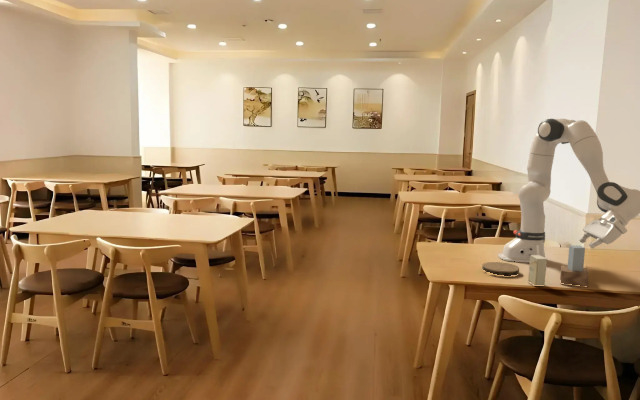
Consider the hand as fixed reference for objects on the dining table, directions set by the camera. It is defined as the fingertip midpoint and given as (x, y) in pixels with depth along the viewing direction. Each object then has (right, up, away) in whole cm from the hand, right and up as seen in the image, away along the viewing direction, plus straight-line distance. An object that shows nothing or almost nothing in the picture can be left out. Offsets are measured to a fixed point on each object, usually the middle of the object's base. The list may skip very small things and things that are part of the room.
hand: (585, 244), depth 211 cm
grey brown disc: (-30, -15, +18) cm, 38 cm away
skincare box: (-21, -17, -1) cm, 27 cm away
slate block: (-4, -11, +2) cm, 12 cm away
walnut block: (-4, -17, +3) cm, 17 cm away
